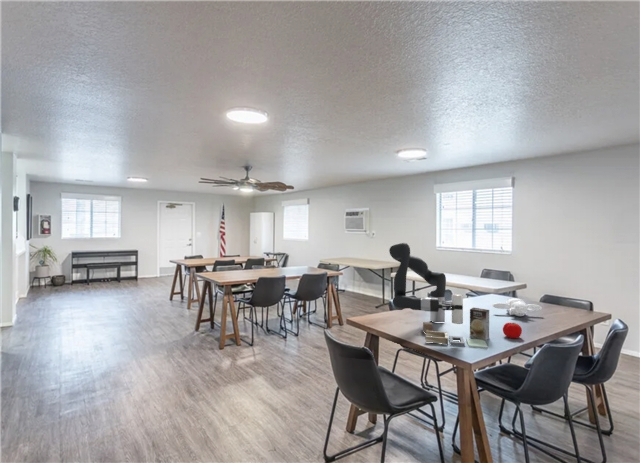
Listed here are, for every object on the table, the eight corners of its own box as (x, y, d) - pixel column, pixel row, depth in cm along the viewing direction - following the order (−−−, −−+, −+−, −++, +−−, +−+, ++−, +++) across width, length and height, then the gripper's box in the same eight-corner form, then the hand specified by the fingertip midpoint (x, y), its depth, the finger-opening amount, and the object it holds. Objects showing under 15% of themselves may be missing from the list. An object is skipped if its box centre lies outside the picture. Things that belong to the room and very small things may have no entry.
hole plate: (449, 338, 196) (449, 335, 196) (462, 339, 194) (462, 336, 194) (450, 345, 184) (450, 342, 184) (464, 346, 182) (464, 343, 182)
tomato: (500, 337, 197) (500, 322, 198) (506, 333, 205) (506, 319, 205) (518, 341, 191) (518, 325, 191) (524, 337, 198) (524, 322, 198)
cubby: (426, 336, 200) (426, 330, 200) (446, 338, 196) (446, 332, 196) (425, 343, 188) (425, 336, 188) (447, 345, 184) (447, 338, 184)
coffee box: (469, 337, 198) (469, 309, 198) (473, 334, 203) (472, 307, 203) (486, 340, 192) (486, 311, 192) (489, 337, 197) (489, 309, 197)
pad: (466, 340, 193) (466, 338, 193) (484, 341, 190) (484, 340, 190) (468, 346, 182) (468, 345, 182) (487, 348, 179) (487, 346, 179)
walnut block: (423, 332, 209) (423, 322, 209) (430, 332, 209) (430, 322, 209) (425, 334, 205) (425, 324, 205) (432, 334, 204) (432, 324, 204)
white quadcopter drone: (490, 313, 255) (490, 298, 255) (511, 308, 271) (511, 294, 271) (525, 321, 234) (526, 304, 234) (546, 315, 251) (546, 300, 251)
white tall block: (451, 321, 192) (451, 293, 192) (462, 321, 191) (462, 294, 191) (452, 323, 187) (451, 295, 187) (463, 324, 185) (463, 296, 185)
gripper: (429, 300, 187) (463, 302, 181) (429, 295, 200) (461, 297, 195) (429, 314, 187) (463, 316, 181) (429, 308, 200) (461, 310, 195)
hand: (462, 306), depth 188 cm, fingers closed on white tall block, 5 cm apart
